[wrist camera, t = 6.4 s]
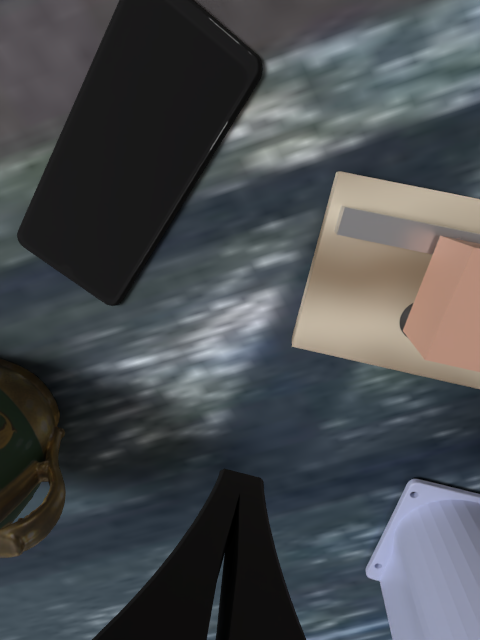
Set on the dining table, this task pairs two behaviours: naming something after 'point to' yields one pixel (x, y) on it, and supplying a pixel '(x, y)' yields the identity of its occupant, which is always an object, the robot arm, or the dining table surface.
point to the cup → (27, 459)
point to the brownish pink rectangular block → (449, 306)
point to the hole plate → (376, 279)
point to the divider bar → (396, 230)
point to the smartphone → (136, 141)
